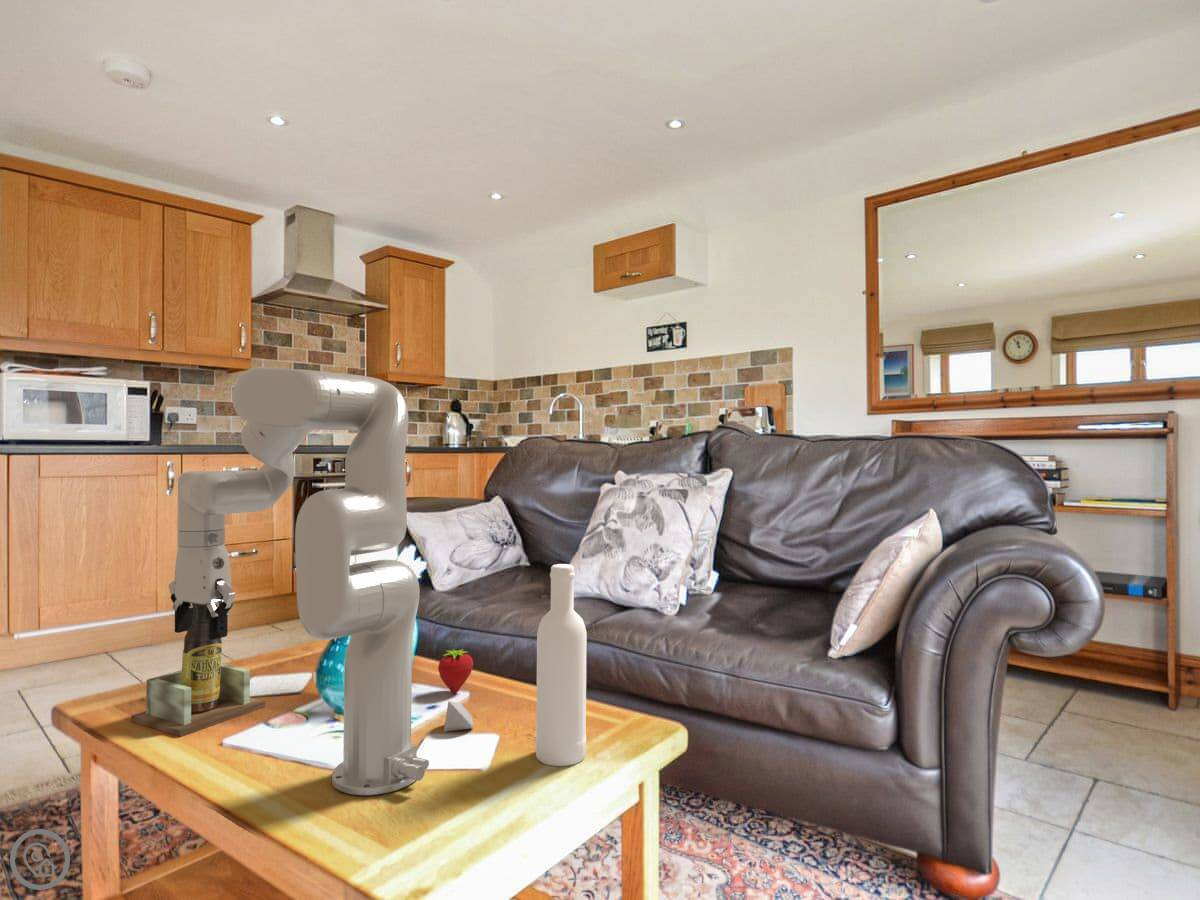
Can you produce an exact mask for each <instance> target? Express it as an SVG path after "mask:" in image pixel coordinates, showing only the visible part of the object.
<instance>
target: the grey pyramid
mask: <svg viewBox="0 0 1200 900" xmlns="http://www.w3.org/2000/svg"><path fill="white" fill-rule="evenodd" d="M446 707H447V708H446V714H445V722H444V728H443V732H444V733H445V732H452V731H453V732H454V731H461V730H470V729H474V719H473V715H472V714H471V713H470V712H469V711H468V709H466V708H465V707H464V705H463V704H462V703H461V702H456V701H450V700H449V701H448V702H447V706H446Z"/></svg>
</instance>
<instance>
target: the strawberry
mask: <svg viewBox="0 0 1200 900" xmlns="http://www.w3.org/2000/svg"><path fill="white" fill-rule="evenodd" d="M454 648H455V647H453V648H452V650H445V652H446V653H444V654H442V656H443V658H442V659H440V661H439V662H438V663H439V664H438V667H437V670H438V673H439V676H440V678H441V681H442V682H443V683H444V685H445V686H446V687H447V688H448V690H449V691H450V692H451V693H453V694H457V693H459V691H460V690H461V688H462V687H463V685H464V684H465V683H466V681H467V679H468V678H469V677H470V676H471V674H472V670H473V668H474V667H473V666H474V659H473V658H472V657H471V655H470V654H468V653H469V651H466V650H465V651H464V648H462V649H459V650H455V649H454Z"/></svg>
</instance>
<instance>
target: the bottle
mask: <svg viewBox="0 0 1200 900" xmlns="http://www.w3.org/2000/svg"><path fill="white" fill-rule="evenodd" d="M549 577H550V610H549V611H548V612H547V613H546V614H544V616H543V617H542V618H541V620H540V623H539V625H538V629H537V632H536V639H537V640H536V706H535V707H536V709H535V711H536V713H535V714H536V721H535V723H536V724H535V729H536V730H535V731H536V733H535V756H536V758H537V760H538V761H539V762H541V763H542V764H544V765H548V766H553V767H569V766H574V765H576V764H578V763H581V761H583V760H584V759H585V757H586V750H587V749H586V747H587V733H586V732H587V731H586V730H587V728H586V724H587V723H586V722H587V640H588V639H587V635H588V634H587V633H588V632H587V629H586V625H585V622H584V620H583V618H582V617H581V615H580V614H578V613H577V612H576V611H575V610H574V609H575V607H574V606H575V603H574V602H575V601H574V598H575V597H574V596H575V595H574V594H575V593H574V590H575V589H574V588H575V587H574V586H575V577H576V573H575V567H574V566H573V565H572V564H569V563H557V564H553V565H552V566H551V567H550V573H549Z"/></svg>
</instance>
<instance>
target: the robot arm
mask: <svg viewBox="0 0 1200 900" xmlns="http://www.w3.org/2000/svg"><path fill="white" fill-rule="evenodd" d="M231 399H232V400H231V401H232V406H233V409H234V411H235V413H236V415H238V417H240V418H241V419H242V420H244V421H246V423H245V425H244V426H243V427H242V430H241V432H240V440H241V441H240V442H241V444H242V446H243V447H244V449H245V450H246V452H247V453H248V454H249V455H250V456H251V457H253V458H255V459H256V460H258V462H261V463H262V464H263V463H264V464H263V465H262V466H261V467H260V468H258V469H257V470H256V469H250V470H249V469H246V470H245V469H244V470H239V469H238V470H216V471H215V470H194V471H193V470H192V471H191V470H189V471H185V472H182V473H180V474H179V477H178V479H177V524H176V526H177V535H176V536H177V547H176V548H177V551H176V558H175V566H174V567H175V568H174V579H173V581H171V582H170V583H168V589H169V594H170V600H171V602H172V603H173V604H172V609H173V611H174V632H175V633H177V634H180V633H183V632H187V631H188V629H189V628H190V627H191V625H192V619H193V607H192V603H193V604H199V605H207V607H208V609H209V611H210V613H211V615H212V617H209V639H210V640H214V639H218V638H221V639H222V638H225V637H227V636H228V629H229V628H228V627H229V626H228V622H229V621H228V619H229V618H228V616H229V615H230V613H231V609H232V607H233V604H234V599H235V598H236V592H235V591H234V590H233V589H232V579H231V565H230V557H229V552H228V548H227V547H226V515H230V514H231V515H232V514H239V513H240V514H241V513H254V512H262V511H265V510H268V509H269V508H271V507H273V506H274V505H275V504H276V503H278V501H279V500H280V499H281V498H282V497H283V496H284V494H286V492H287V491H288V490H289V489H290V487H291V486H292V483H293V481H294V477H295V471H296V470H295V468H296V467H295V466H296V465H295V464H296V462H295V459H294V455H293V453H294V452H295V450H296V449H297V448H298V447H299V446H300V444H301V443H302V442H303V441H304V440H305V439H306V437H307V436H308V435H309V433H310V432H311V431H312V430H319V431H321V430H323V431H325V430H326V431H328V430H329V431H356V432H357V434H356V435H355V437H354V438H353V439H352V441H351V443H350V445H349V447H348V449H347V452H346V455H345V459H344V460H345V462H344V470H345V471H344V472H345V482H344V487H343V488H334V489H333V488H332V489H325V490H324V489H323V490H319V491H317V492H315V493H313V494H312V495H310V496H309V497H308V498H307V499H305V501H304V502H303V503H302V505H301V507H300V509H299V512H298V514H297V518H296V522H295V532H294V535H295V537H294V538H295V539H294V541H295V543H294V545H295V571H296V572H295V576H296V578H295V582H296V602H297V611H298V616H299V621H300V623H301V625H302V627H303V629H304V630H305V632H306V633H307V634H308V635H309V636H311V637H312V638H314V639H317V640H321V641H322V640H323V641H329V640H334V639H335V640H336V639H340V638H343V637H348V636H351V637H350V639H349V640H348V645H347V647H346V649H345V650H346V651H345V655H344V656H345V657H344V662H343V663H344V664H343V666H344V667H343V670H344V671H343V761H342V762H340V763H339V764H337V766H336V767H335V768H334V769H333V771H332V773H331V783H332V786H333V787H334V788H335V789H337V790H338V791H340V792H342V793H344V794H349V795H355V796H375V795H376V796H377V795H383V794H388V793H391V792H392V793H393V792H395V791H398V790H401V789H403V788H406V787H407V786H410V785H411V784H412V783H414V782H415V781H418V782H419V781H422V780H423V778H424V776H425V773H426V770H428V768H429V765H430V761H429V760H428V759H425V758H421V757H418V755H417V747H418V746H417V744H413V743H412V690H413V689H412V684H413V683H412V681H413V678H412V677H413V676H412V675H413V674H412V673H413V670H412V669H413V642H414V631H415V630H414V628H415V624H416V618H417V613H418V609H419V605H420V604H419V603H420V594H421V592H420V590H421V589H420V583H419V579H418V577H417V575H416V572H415V571H414V570H413V569H412V568H411V567H410V566H409V565H408V564H406V563H404V562H402V561H399V560H394V559H378V560H372V561H366V562H359V563H355V564H351V557H352V556H359V555H363V554H364V555H365V554H366V555H367V554H372V553H377V552H382V551H386V550H390V549H393V548H396V547H397V546H398V545H400V544H401V542H403V540H404V539H405V536H406V533H407V526H408V525H407V524H408V515H407V513H408V511H407V509H408V508H407V507H408V505H407V504H408V503H407V477H406V476H407V475H406V474H407V471H406V449H407V448H406V447H407V441H408V440H407V439H408V433H409V432H408V431H409V411H408V406H407V403H406V400H405V398H404V396H403V394H402V393H401V391H400V390H399V389H398V388H397V387H395V386H394V385H393V384H391V383H390V382H387V381H386V380H382V379H380V378H376V377H372V376H367V375H359V374H353V373H343V372H342V373H341V372H338V373H337V372H330V371H321V370H310V369H298V368H281V367H280V368H279V367H278V368H277V367H267V366H255V367H251V368H249V369H247V370H246V371H245V372H243V373H242V374H241V375H240V376H239V378H238V379H237V381H236V382H235V384H234V385H233V389H232V397H231ZM216 598H217V599H216ZM211 599H212V600H211ZM216 604H218V605H217V606H216V607H215V605H216Z"/></svg>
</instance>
